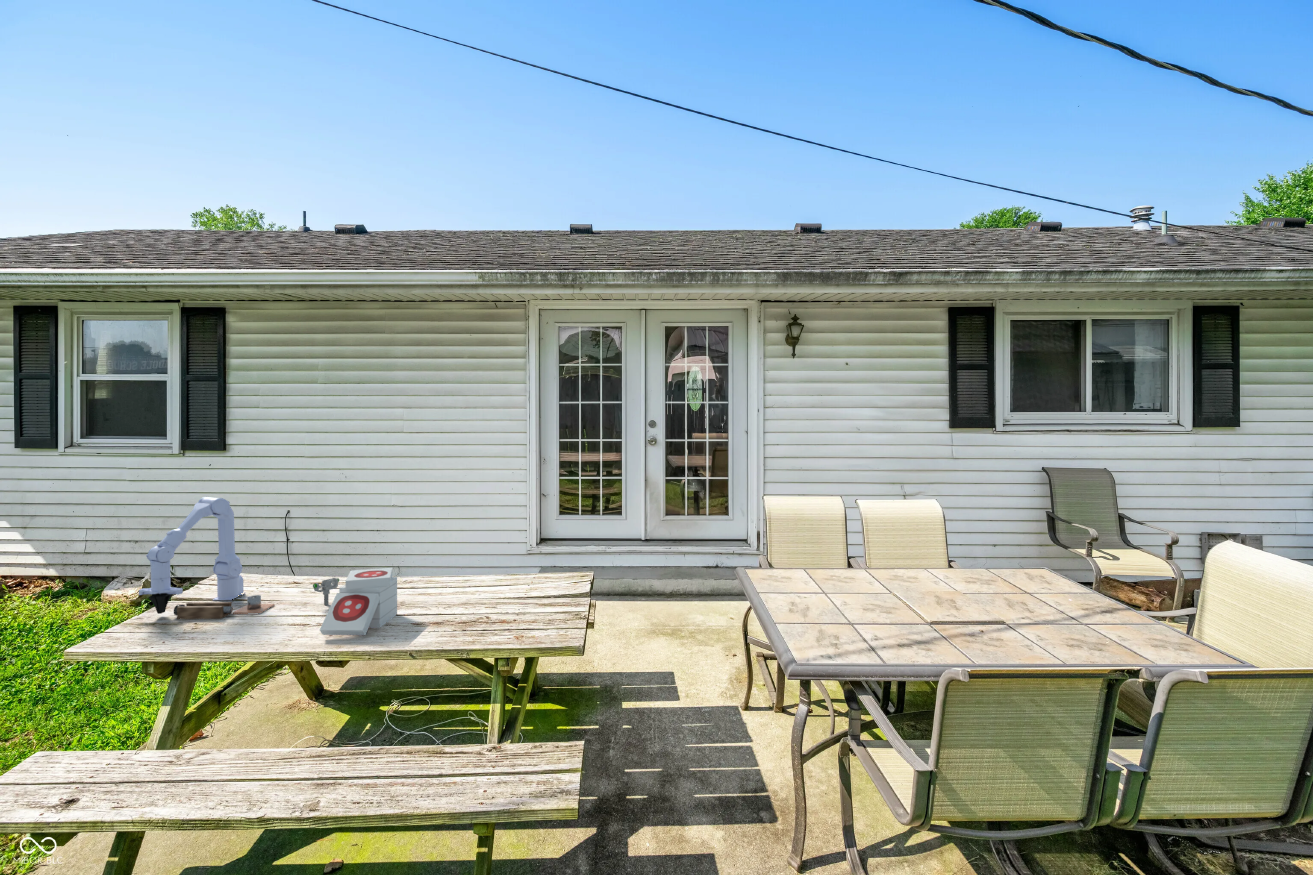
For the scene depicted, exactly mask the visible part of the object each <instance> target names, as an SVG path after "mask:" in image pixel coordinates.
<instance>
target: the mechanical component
mask: <svg viewBox="0 0 1313 875" xmlns="http://www.w3.org/2000/svg"><path fill="white" fill-rule="evenodd" d="M339 582H340V579H339V578H338V577H337V578H336V577H331V578H327V579H323V580H322V581H321V582H320V584H319V583H318V582H316V583H313V584H312V587H313V590H314V592H318V593H322V595H323V605H325V606H328V605H329V604H330V603H329V594H330V593H331V592H330V590H334V589H337V588H338V586H339Z"/></svg>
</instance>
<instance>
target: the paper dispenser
mask: <svg viewBox="0 0 1313 875" xmlns="http://www.w3.org/2000/svg"><path fill="white" fill-rule="evenodd" d="M338 590H339V591H338V592H336V594H335V596H334V599H333V601H332V603H331V605H330V607H329V609H328V612H327V613H326V616H325V618H324V620H323V622H322V624H321V626H320V628H319V632H320V633H321V635H323V636H326V635H327V636H335V635H336V636H366V635H367V632H368V629H373V628H374V629H379V628H382V627H383V626H384V625H386V624H387V623H388V622H389V621H391V620H392V619H393V618H395V616H397V615H398V576H393V567H384V568H383V567H382V568H372V569H371V568H368V569H367V568H366V569H356V570H355V569H354V570H350V571H349V573H348V575H347V577H346V580H345V584H344V585H342V586H340V587H339V589H338ZM396 614H397V615H396ZM390 619H391V620H390ZM386 622H387V623H386Z"/></svg>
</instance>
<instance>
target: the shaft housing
mask: <svg viewBox="0 0 1313 875" xmlns="http://www.w3.org/2000/svg"><path fill="white" fill-rule="evenodd" d="M232 603H233V602H231V601H221V602H220V601H218V602H217V601H215V602H212V601H205V602H204V601H203V602H201V601H200V602H199V601H197V602H195V601H194V602H193V601H191V602H186V603H185V604H186V605H185V606H179V607H177V616H176V617H177V618H176V620H210V619H211V620H219V619H220V620H222V619H223V618H225V617H228V616H229V615H231V613H232V614H233V611H232V612H231V613H223V606H232ZM232 607H233V606H232Z"/></svg>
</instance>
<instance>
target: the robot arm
mask: <svg viewBox="0 0 1313 875" xmlns="http://www.w3.org/2000/svg"><path fill="white" fill-rule="evenodd" d="M210 516H213V517H215V518H216V519H217V528H218V529H217V533H218V536H217V537H218V556H216V557H215V559H214V565H213V567H212V572H213V574H215V575H216V578H217V579H216V580H217V581H216V584H217V587H216V588H217V590H216V591H217V597H214V598H213V599H212V601H233V600H235V599H234V598H236V597H238V595H242V594H241V593H243V592H244V578H243V576H242V575H241V573H242V572H243V565H242V563H241V558H240V557H239V556H238V554H236V542H235V539H236V538H235V513H234V510H233V509H232V507H231V504H230V501H228V500H227V499H226V498H222V497H210V496H203V497H201V498H200V499H199V500H198V502H196V503H195V504H194V506H193V509H191V511H190V512H189V513H188V515H187V516H186V517H185V518H184V520H183V521H182V522H181V523H180V524H179V526H178V527H177V528H175V529H171V530H168V531H167V532H166V535H165V536H164V537H163V539H161V541H159V542H158V543H157V544H156V546H153V547H151V548H150V549H149V551H148V552H147V554H145V556H146V559H147V560H148V561H149V563H150V564H149V565H150V587H149V588H147V587H146V588H144V587H143V588H140V589H138V595H139V596H142V595H150V596H149V597H148V599H149V600H150V601H151V603H152V604H153V606H154V608H155V610H156V613H157V614H161V615H162V614H163V613H166V609H167V606H168V603H169V601H170V599H171V597H173V595H177V596H180V595H182V594H183V588H182V587H181V588H180V587H174V586H171V559H174V556H175V552H176V550H177V549H178V548H179V547H180V545H181V544H182V543H183V542H184V541H185V540H186V539H187V533H188V532H189V531H190V530H191V529H193V527H195V525H196V524H197V523H198V522H199V521H200V520H201V519H203V518H205V517H210ZM244 593H245V592H244ZM242 596H243V595H242ZM238 598H239V597H238ZM232 599H233V600H232ZM236 599H237V598H236Z"/></svg>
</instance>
